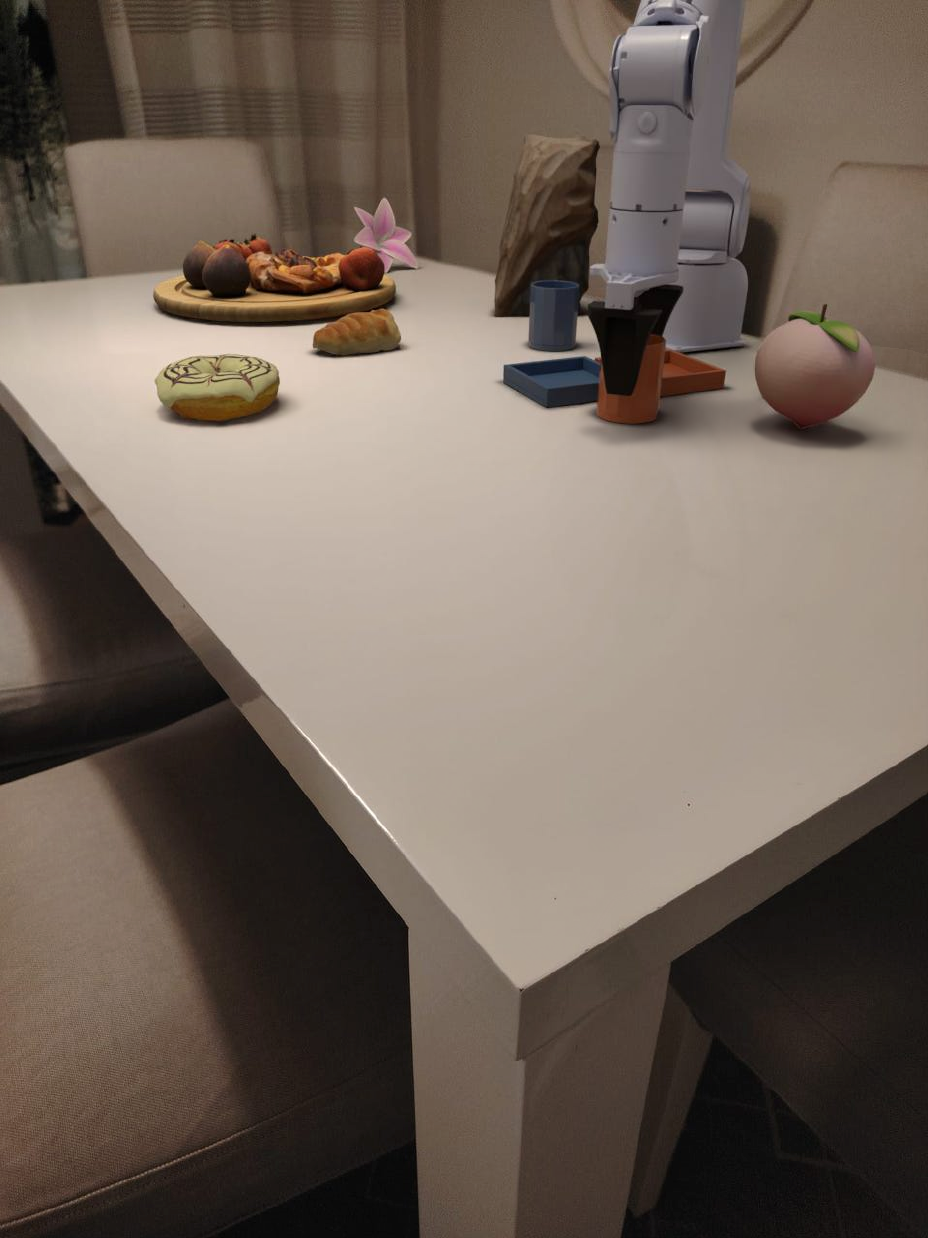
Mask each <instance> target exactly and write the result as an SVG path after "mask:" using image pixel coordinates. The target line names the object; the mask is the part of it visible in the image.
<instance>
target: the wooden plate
mask: <svg viewBox="0 0 928 1238" xmlns="http://www.w3.org/2000/svg"><path fill="white" fill-rule="evenodd" d="M182 263H183V264H182V272H183V274H182V275H178V276H175V277H172V278H169V279H166V280H164V281H162V282H160V283H159V284H157V285H156V286H155V287H154V289H153V294H152V296H153V297H152V298H153V300H154V303H155V304H156V305H157V306H158V308H160V309H161V310H162V311H165V312H167V313H169V314H170V313H171V314H173V315H176V316H180V317H181V316H182V317H187V318H192V319H199V320H208V321H218V322H237V323H238V322H239V323H269V322H293V321H294V322H295V321H305V320H315V319H324V318H325V319H326V318H333V317H340V316H346V315H349V314H351V313H358V312H360V313H362V312H365V311H369V310H373V309H375V308H379V307H381V306H384V305H385V304H387V303H388V302H390V301H391V300H392V299H393V298H394V297H395V295H396V293H397V285H396V283H395V280H394V279H393V278H392V277H391V276H390V275H388V274H386V273H385V272H384V271H385V268H384V263H383V261H382V259H381V258H380V257H379V256H378V253H377V250H374V249H373V248H370V247H367V246H360V247H358V248H351V249H350V250H349V251H347V253H346V254H342V253H340V252H335V253H331V254H327V255H325V256H318V257H310V256H306V255H305V256H304V255H300V254H299V253H297V252H296V251H295V250H293V249H292V248H289V249H281V250H280V253H279V252H275V253H274V254H273V251H272V247H271V245H270V243H269V242H268V241H267V240H266V239H264V238H262V237H261V235H259V236H258V235H257V233H252V234H251V236H250V238H245V239H244V241H243V242H242V241H235V239H234V238H233V239H229V240H228V239H221V240H220V241H219V242H218V243H217V244H216V245H214V246H211V245H209V244H208V243H206V242H204V241H203V240H199V241H198V242H197V244H194V245H193V247H191V249H189V251H188V252H187V254H186V256H185V258H184V260H183V262H182Z"/></svg>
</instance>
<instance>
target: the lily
mask: <svg viewBox="0 0 928 1238" xmlns="http://www.w3.org/2000/svg"><path fill="white" fill-rule="evenodd" d="M353 209H354V211H355V213H356V214H357V216H358V217H359V219H360V221H361V223H362V224H363V225H364V227H363V228H362V229H361V230H360V231H359V232H358V233H357V234H356V235H355V237H354V238H353V241H354V243H356V244H358V245H360V246H362V247H367V248H371V249H374V251H376V253H377V255H378V256H379V257H380V258H381V259H382V261H383V263H384V268H385V271H384V274H386V273H388V271H389V270H390V268H391V266H392V264H393V261H394V258H395V259H397V260H399V261H401V262H403V263H405V264H406V265H408V266H410V267H412V268H414V269H419V264H418V262H417V260H416V258H415V256H414V254H413V253H412V250H411V249H410V248H409V247H408V245H407V244H406V242H407V241H408V240H409V239H410V238H411V237H412V235H413V234H412V232H411V231H409V229H406V228H403V227H400V226H397V225H396V218H395V214H394V212H393V209H392V207H391V204H390V202H389V201H388V199H387V198H386V197H383V198H382V199H381V200H380V202H379V203H378V206H377V208H376V211H375V213H374V215H372V214H371V213H370V212H367V211H366V210H364V209H362V208H360V207H357V206H354V207H353Z"/></svg>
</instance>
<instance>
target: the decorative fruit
mask: <svg viewBox="0 0 928 1238" xmlns="http://www.w3.org/2000/svg"><path fill="white" fill-rule="evenodd" d="M827 307H828V304H827V303H824V304H823V305H822V308H821V313H820V312H817V311H810V310H808V311H807V310H795V311H793V312H792V313H790V314H789V315H788V318H787V320H788V322H785V323H783V324H781V325H780V326H777V327H776V328H775V329H774V330H771V332H770V333H768V334H767V336H766V337H765V338H764V339H763V341H762V342H761V343H760V345H759V347H758V349H757V352H756V354H755V358H754V376H755V383H756V386H757V389H758V392H759V394H760V396H761V398H762V399H763V400H764V401H765V402H766V403H767V405H768V406H770V408H772V409H773V410H774V411H775V412H777V413H778V414H779V415H781V416H783V417H785V418H786V419H788V420H789V421H791V422H793V423H794V424H795V425H796V426H797V428H798V429H807V428H811V427H814V426H817V425H820V424H823V423H826V422H829V421H831V420H833V419H835V418H838V417H839V416H841V415H843V414H844V413H846V412H847V411H849V410H850V409H851V408H852V407H853V406H855V405H856V404H857V402H859V401H860V399H861V398H863V396H864V395H865V393H866V392H867V390H868V389H869V387H870V385H871V383H872V381H873V378H874V375H875V370H876V359H875V355H874V351H873V348H872V346H871V345H870V343H869V341H868V340H867V338H866V337H865V336H864V335H863V334H862V333H861V332H860V331H858V330H857V329H856V328H854V327H853V326H852V325H850V324H849V323H846V322H843V321H839V320H829V319H827V317H826V312H827Z"/></svg>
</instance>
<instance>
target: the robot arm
mask: <svg viewBox="0 0 928 1238" xmlns="http://www.w3.org/2000/svg"><path fill="white" fill-rule="evenodd" d="M745 9H746V0H640V3H639V6H638V8H637V12H636V15H635V18H634V22H633V25H632V26H629V27H628V28H627V30H626V33H625V34H624V35H623V34H618V35H617V36H616V38H615V40H614V43H613V47H612V50H611V56H610V64H609V74H608V82H609V83H608V92H609V93H608V96H609V106H610V107H609V108H610V121H609V140H610V141H613V143H614V144H613V155H612V167H611V182H610V195H609V208H608V218H607V219H608V220H607V235H606V248H605V259H604V260H605V261H604V263H594V264H592V265H590V266H589V276H592V277H600V278H602V280H603V281H604V283H605V284H606V289H605V301H601V300H593V301H591V302H589V303H588V304H587V310H586V311H587V317H588V320H589V322H590V323H591V325H592V328H593V331H594V333H595V336H596V339H597V343H598V347H599V352H600V357H601V360H602V367H603V375H604V382H605V388H606V392H607V394H614V395H623V396H631V395H632V394H633V391H634V389H635V386H636V383H637V380H638V376H639V372H640V367H641V363H642V359H643V355H644V351H645V348H646V345H647V342H648V339H649V337H650V334H656V335H659V336H662V337H664V338H665V339H666V348H665V350H670V349H671V350H674V351H677V352H679V353H682V354H683V353H690V352H699V351H709V350H715V349H725V348H734V347H742V346H743V347H744V346H745V340H742V339H741V336H742V329H743V323H744V315H745V311H746V310H745V309H746V303H747V294H748V290H749V279H748V273H747V270H746V267H745V265H744V264H743V263H742V262H741V261H740V260H739V259H737V258H736V257H738V255H740V253H742V251H743V248H744V245H745V240H746V236H747V231H748V224H749V217H750V207H751V200H750V195H751V186H752V182H751V181H750V176H749V174H748V173H747V172H746V171H745V170H744V169H743V168H742V167H741V166H740V165H739V164H737V162H736V161H734V160H733V159H732V158H731V157H730V156H729V154H728V148H729V140H730V133H731V122H732V115H733V107H734V100H735V93H736V92H735V91H736V82H737V75H738V68H739V67H738V66H739V59H740V50H741V41H742V33H743V27H744V26H743V25H744V17H745Z"/></svg>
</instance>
